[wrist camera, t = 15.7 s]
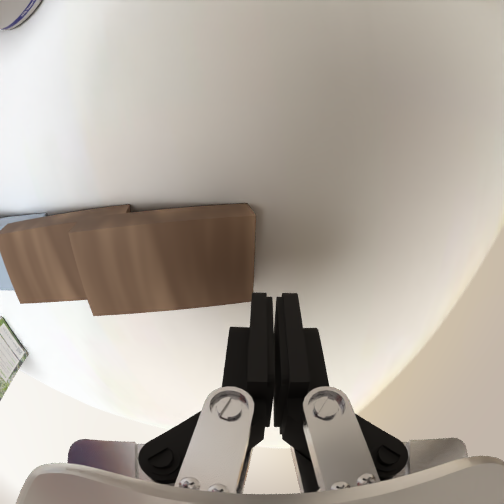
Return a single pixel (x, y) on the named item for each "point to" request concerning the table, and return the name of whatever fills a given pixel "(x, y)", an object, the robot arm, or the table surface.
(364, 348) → the table surface
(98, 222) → the domino
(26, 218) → the domino
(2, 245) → the domino
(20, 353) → the syrup box
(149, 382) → the table surface
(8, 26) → the energy drink
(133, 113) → the table surface
